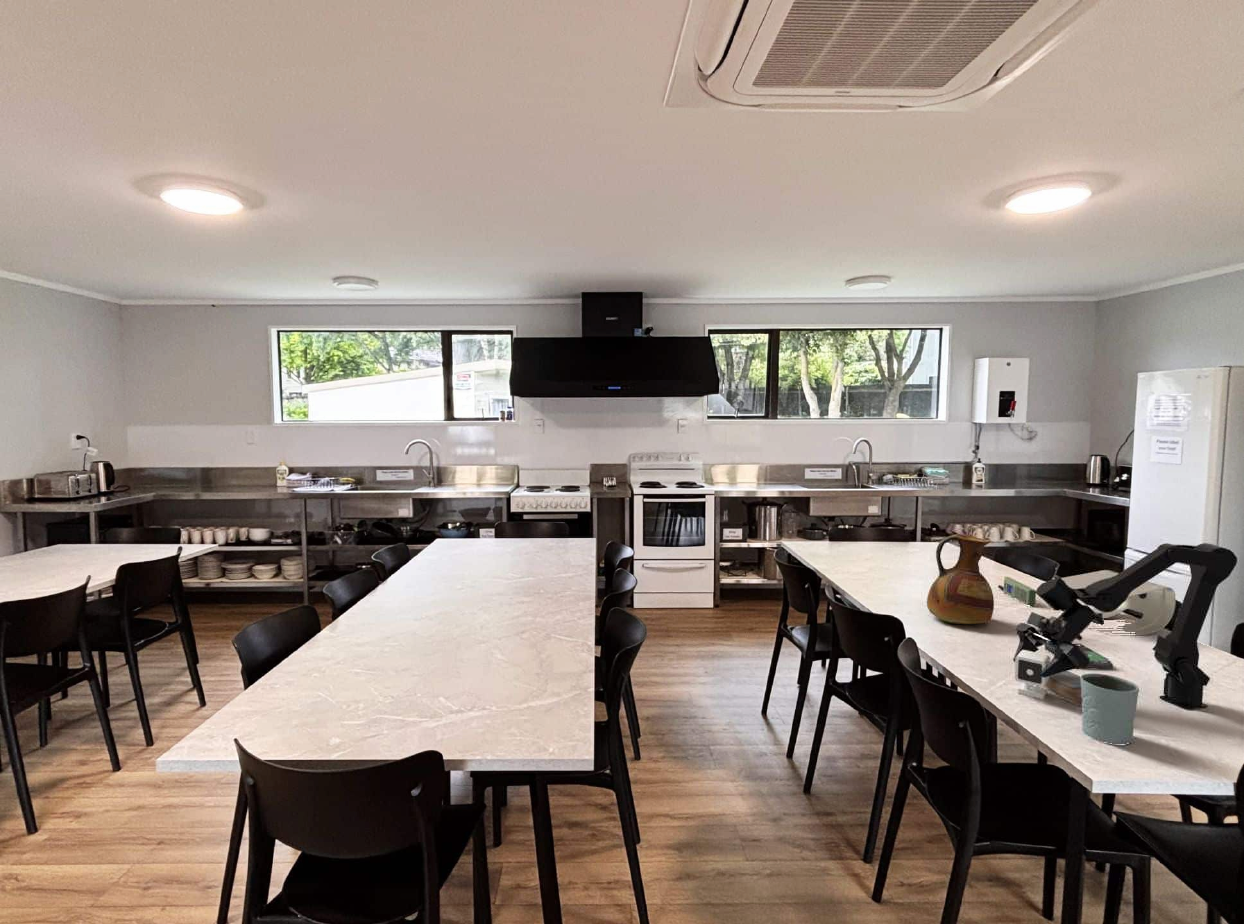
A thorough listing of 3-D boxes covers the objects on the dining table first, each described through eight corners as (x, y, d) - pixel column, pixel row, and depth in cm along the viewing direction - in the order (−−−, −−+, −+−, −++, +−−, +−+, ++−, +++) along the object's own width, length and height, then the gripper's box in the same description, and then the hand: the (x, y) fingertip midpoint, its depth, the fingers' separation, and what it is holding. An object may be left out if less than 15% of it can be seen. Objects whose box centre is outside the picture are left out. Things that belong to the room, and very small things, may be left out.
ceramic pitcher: (999, 633, 203) (1002, 541, 201) (930, 626, 210) (933, 538, 208) (985, 615, 222) (988, 531, 220) (923, 610, 228) (925, 528, 226)
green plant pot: (1086, 742, 134) (1088, 687, 133) (1071, 721, 143) (1073, 669, 142) (1144, 750, 130) (1147, 694, 129) (1125, 728, 140) (1128, 676, 139)
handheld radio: (1026, 607, 232) (994, 589, 257) (1036, 608, 232) (1003, 589, 256) (1028, 589, 232) (996, 573, 256) (1037, 590, 231) (1004, 573, 256)
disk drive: (1043, 651, 189) (1074, 669, 174) (1043, 642, 189) (1074, 659, 174) (1080, 652, 188) (1114, 671, 173) (1080, 643, 188) (1114, 661, 173)
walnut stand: (1110, 703, 152) (1111, 689, 152) (1078, 706, 151) (1079, 692, 150) (1060, 680, 166) (1061, 667, 166) (1031, 682, 164) (1031, 669, 164)
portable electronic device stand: (1176, 635, 201) (1179, 587, 200) (1107, 637, 199) (1109, 589, 198) (1109, 611, 226) (1111, 569, 225) (1047, 612, 225) (1049, 570, 224)
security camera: (1014, 694, 157) (1015, 655, 156) (1020, 686, 162) (1021, 648, 162) (1044, 702, 153) (1045, 662, 152) (1049, 693, 158) (1051, 654, 157)
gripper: (1023, 592, 166) (982, 634, 165) (1081, 613, 147) (1035, 661, 147) (1049, 620, 167) (1009, 662, 166) (1110, 645, 148) (1065, 692, 148)
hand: (1027, 668), depth 157 cm, fingers open, 9 cm apart
